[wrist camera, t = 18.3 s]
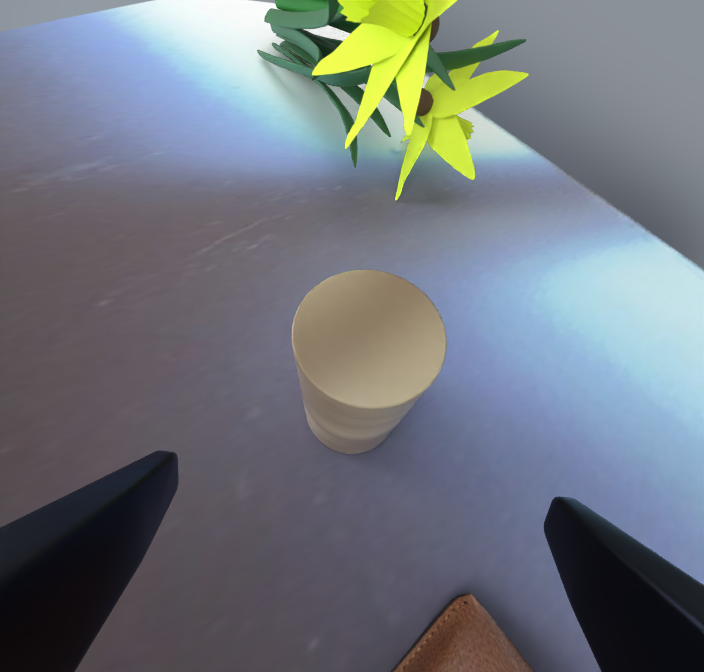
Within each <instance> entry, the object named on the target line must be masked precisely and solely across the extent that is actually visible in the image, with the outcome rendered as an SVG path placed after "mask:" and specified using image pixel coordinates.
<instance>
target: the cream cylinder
mask: <svg viewBox="0 0 704 672" xmlns="http://www.w3.org/2000/svg"><path fill="white" fill-rule="evenodd" d="M292 346H293V352H294V357H295V362H296V367H297V372H298V377H299V382H300V387H301V392H302V397H303V402H304V408H305V413H306V417H307V421H308V424H309V427H310V429H311V430H312V432H313V434H314V435H315V436H316V438H317V439H318V440H319V441H320V442H321V443H323V444H324V445H325V446H327V447H328V448H330V449H332V450H334V451H337V452H341V453H346V454H358V453H363V452H366V451H369V450H371V449H373V448H375V447H376V446H378V445H379V444H381V443H382V442H383V441H384V440H385V439H386V437H387V436H388V435H389V434H390V433H391V431H392V430H393V429H394V428H395V427H396V426H397V424H398V423H399V422H400V421H401V420H402V418H403V417H404V416H405V415H406V414H407V412H408V411H409V410H410V409H411V408H412V407H413V405H414V404H415V403H416V402H417V401H418V399H419V398H420V397H421V396H422V395H423V393H424V392H425V391H426V390H427V389H428V388H429V386H430V385H431V384H432V383H433V382H434V380H435V379H436V377H437V376H438V374H439V372H440V370H441V368H442V366H443V363H444V359H445V355H446V347H447V341H446V332H445V327H444V324H443V321H442V318H441V316H440V314H439V312H438V310H437V309H436V307H435V306H434V304H433V303H432V301H431V300H430V299H429V298H428V297H427V295H425V294H424V293H423V292H422V291H421V290H420V289H419V288H417V287H416V286H415V285H413V284H412V283H410V282H408V281H407V280H405V279H403V278H401V277H398V276H396V275H393V274H390V273H387V272H382V271H376V270H354V271H348V272H343V273H340V274H337V275H334V276H332V277H330V278H328V279H326V280H324V281H323V282H321V283H319V284H318V285H317V286H316V287H314V288H313V289H312V290H311V291H310V292H309V293H308V294H307V295H306V296H305V298H304V299H303V301H302V302H301V304H300V305H299V307H298V309H297V311H296V314H295V317H294V320H293V325H292Z"/></svg>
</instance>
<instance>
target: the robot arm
mask: <svg viewBox="0 0 704 672" xmlns="http://www.w3.org/2000/svg"><path fill="white" fill-rule="evenodd" d="M177 487H178V458H177V454H176V453H174V452H168V451H156V452H154V453H152V454H150V455H148V456H146V457H144V458H141V459H139V460H137V461H135V462H133V463H131V464H129V465H127V466H125V467H123V468H121V469H119V470H117V471H115V472H113V473H111V474H109V475H107V476H105V477H103V478H101V479H99V480H97V481H95V482H93V483H91V484H89V485H87V486H85V487H83V488H81V489H78V490H76V491H74V492H72V493H70V494H68V495H66V496H64V497H62V498H60V499H58V500H56V501H54V502H52V503H50V504H48V505H46V506H44V507H42V508H40V509H38V510H36V511H34V512H32V513H30V514H28V515H26V516H24V517H22V518H19V519H17V520H15V521H13V522H11V523H9V524H7V525H5V526H3V527H1V528H0V672H75V670H76V669H77V667H78V665H79V664H80V662H81V660H82V659H83V657H84V655H85V654H86V652H87V650H88V649H89V647H90V646H91V644H92V642H93V641H94V639H95V637H96V636H97V634H98V632H99V631H100V629H101V627H102V626H103V624H104V623H105V621H106V619H107V618H108V616H109V614H110V613H111V611H112V609H113V608H114V606H115V604H116V603H117V601H118V600H119V598H120V596H121V595H122V593H123V591H124V590H125V588H126V586H127V585H128V583H129V581H130V580H131V578H132V577H133V575H134V573H135V572H136V570H137V568H138V567H139V565H140V563H141V561H142V560H143V558H144V556H145V554H146V552H147V550H148V548H149V546H150V544H151V542H152V540H153V538H154V536H155V534H156V532H157V530H158V528H159V526H160V524H161V521H162V519H163V517H164V515H165V513H166V511H167V509H168V507H169V505H170V503H171V501H172V499H173V497H174V495H175V493H176V490H177ZM544 532H545V536H546V539H547V541H548V544H549V547H550V550H551V552H552V555H553V558H554V561H555V563H556V566H557V569H558V572H559V574H560V577H561V580H562V582H563V585H564V588H565V591H566V593H567V596H568V598H569V601H570V604H571V606H572V608H573V611H574V613H575V615H576V617H577V620H578V622H579V624H580V626H581V628H582V630H583V633H584V635H585V637H586V639H587V641H588V643H589V646H590V648H591V650H592V652H593V654H594V656H595V659H596V661H597V663H598V665H599V667H600V669H601V672H704V585H703V584H701V583H700V582H698V581H697V580H695V579H694V578H692V577H691V576H689V575H688V574H686V573H685V572H683V571H682V570H680V569H679V568H677V567H676V566H674V565H673V564H671V563H670V562H668V561H667V560H665V559H664V558H662V557H661V556H659V555H658V554H656V553H655V552H653V551H652V550H650V549H649V548H647V547H646V546H644V545H643V544H641V543H640V542H639V541H637V540H636V539H634V538H633V537H631V536H630V535H628V534H627V533H625V532H624V531H622V530H621V529H619V528H618V527H616V526H615V525H613V524H612V523H610V522H609V521H607V520H606V519H604V518H603V517H601V516H600V515H598V514H597V513H595V512H594V511H592V510H591V509H589V508H588V507H586V506H585V505H583V504H582V503H580V502H579V501H577V500H576V499H573V498H568V497H560V496H558V497H555V498H554V499H553V500H552V502H551V505H550V508H549V511H548V513H547V516H546V519H545V522H544Z"/></svg>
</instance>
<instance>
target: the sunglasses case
mask: <svg viewBox="0 0 704 672" xmlns="http://www.w3.org/2000/svg"><path fill="white" fill-rule="evenodd" d="M392 672H534V671H533V670H532V668H531V667H530V665H529V664H528V663H527V661H526V660H525V659H524V658H523V657H522V655H521V654H520V653H519V651H518V650H517V648H516V647H515V646H514V645H513V643H512V642H511V641H510V640H509V639H508V637H507V636H506V635H505V633H504V632H503V630H502V629H501V628H500V627H499V625H498V624H497V623H496V622H495V620H494V619H493V618H492V617H491V615H490V614H489V613H488V611H487V610H486V609H485V608H484V607H483V606H482V605H481V603H480V602H479V601H478V600H477V599H476V598H475V597H474V595H473V594H471V593H468V594H463V595H460V596H457V597H456V598H454V599H452V601H451V602H450V603H449V604H448V605H447V606H446V607H445V609H444V610H443V611H442V612H441V613H440V614H439V615H438V616H437V617H436V619H435V620H434V621H433V622H432V623H431V624H430V625H429V626H428V627H427V629H426V630H425V631H424V632H423V634H422V635H421V636H420V638H419V639H418V640H417V641H416V643H415V644H414V645H413V646H412V647H411V648H410V650H409V651H408V652H407V653H406V655H405V656H404V657H403V658H402V660H401V661H400V662H399V663H398V664H397V666H396V667H395V668H394V669H393V670H392Z"/></svg>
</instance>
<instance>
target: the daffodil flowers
mask: <svg viewBox="0 0 704 672" xmlns="http://www.w3.org/2000/svg"><path fill="white" fill-rule="evenodd" d="M456 1H457V0H275V4H276V7H277V8H278V9H280V10H277V9H272V8H271V9H269V11H268V12H267V14H266V16H265V20H264V21H265V22H267V23H270V24H271V28H272V31H273V32H274V33H276V36H277V37H280V38H282V39H284V40H285V41H283V42H282V43H281V44H280V46H281V47H280V46H279V45H277V44H275V43H272V46H273V47H274V48H275V49H276V50H277V51H278V52H280V53H282V54H283V55H285V56H287V57H288V58H290V59H292V60H293V61H294V62H296V63H294V62H291V61H288V60H285V59H281V58H278V57H275V56H272V55H270V54H267V53H265V52H263V51H260V50H257V51H258V53H259V55H260V56H261V57H262V58H263V59H265V60H267V61H269V62H271V63H274V64H276V65H278V66H280V67H283V68H286V69H289V70H292V71H294V72H297V73H300V74H303V75H305V76H308V77H311V78H312V80H315V81H316V82H317V83H318V85H319V86H320V87H321V88H322V89H323V90H324V91H325V92H326V94H327V95H328V96H329V98H330V99H331V101H332V102H333V103H334V105H335V106H336V107H337V109H338V111H339V112H340V114H341V117H342V120H343V122H344V125H345V128H346V133H347V139H346V142H345V149H346V148H347V147H348V146H350V151H351V156H352V160H353V163H354V166H355V167H356V162H357V134H358V132H359V131H360V130H361V128H362V127H363V126H364V124H365V123H366V121H367V120H368V118H369V117H371V118H372V119H373V121H374V122H375V123H376V124H377V125H378V126H379V127H380V128H381V129H382V131H383V132H384V133H385V134H386V135H388V136H389V137H391V135H390V133H389V130H388V128H387V126H386V123H385V121H384V119H383V117H382V116H381V114H380V112H379V110H378V108H377V105H378V104H379V102H380V101H381V99H382V97H384V98H386V99H387V100H388V101H389V102H390V103H392V104H393V105H394V106H395V107H396V108H398V109H399V110H400V111H401V112H402V113H403V116H404V120H405V121H404V130H405V132H406V135H405V136H404V138H403V139H402V140H401V143H402V141H405V140H407V139H410V140H409V144H408V147H407V151H406V154H405V158H404V161H403V165H402V169H401V174H400V178H399V183H398V188H397V193H396V198H395V201H396V200H397V199H398V198H399V196H400V194H401V192H402V188H403V185H404V182H405V180H406V178H407V176H408V174H409V173H410V171H411V169H412V167H413V165H414V164H415V162H416V160H417V158H418V157H419V155H420V153H421V151H422V149H423V148H424V146H425V143H426V141H427V142H428V144H429V145H430V147H431V148H432V149H433V150H434V151H436V152H437V153H438V154H439V155H440V156H441V157H442V158H443V159H444V160H445V161H446V162H447V163H449V164H450V165H451V166H452V167H453V168H455V169H456V170H457V171H459V172H460V173H462V174H463V175H465V176H466V177H468V178H469V179H471V180H474V179H475V169H474V164H473V161H472V158H471V155H470V151H469V147H468V143H467V139H471V136H470V133H473V132H474V131H473V130H472V127H474V126H473V125H472V124H471V122H469V121H467V120H465V119H462V118H460V117H459V116H457V115H456V114H459V113H461V112H463V111H465V110H467V109H469V108H471V107H473V106H475V105H477V104H479V103H481V102H483V101H485V100H487V99H489V98H491V97H493V96H495V95H497V94H498V93H500V92H502V91H504V90H506V89H508V88H509V87H511V86H513V85H514V84H516V83H518V82H519V81H521V80H522V79H524V78H525V77H527V76H528V75H529V74H528V73H524V72H515V71H506V70H503V71H495V72H489V73H485V74H482V75H480V76H477V77H475V78H472V79H470V80H469V78H470V77H471V75H472V74H473V72H474V71H475V69H476V68H477V66H478V65H479V63H480V62H481V61H484V60H487V59H490V58H492V57H494V56H496V55H498V54H501V53H503V52H505V51H508V50H510V49H512V48H514V47H516V46H518V45H520V44H522V43H524V42H525V41H526V39H519V40H510V41H506V42H501V43H496V44H492V43H493V41H494V39H495V38H496V36H497V34H498V32H499V30H498V31H496V32H495V33H493V34H491V35H490V36H489V37H487V38H486V39H484V40H482V41H480V42H478V43H476V44H475V45H474V46H473V47H472V48H470V49H465V50H460V51H453V52H442V53H436V52H435V51H434V50H433V48H432V47H431V45H430V44H429V43H430V42H431V41H432V40H433V39H434V38H435V36H436V34H437V32H438V29H439V15H441V14H442V13H443V12H444V11H445V10H446V9H448V8H449V7H450V6H451V5H452V4H454V3H455V2H456ZM327 25H329V26H332V27H335V28H337V29H340V30H343V31H345V32H348V33H351V34H350V35H349V36H348V37H347V38H346V39H345V40H344V41H341V40H335V39H330V38H325V37H322V36H318V35H314V34H312V33H310V32H308V31H306V30H303V29H315V28H320V27H325V26H327ZM282 47H283V48H282ZM284 48H285V49H284ZM286 49H287V50H289V51H291V52H293V53H295V54H296V55H298V56H299V57H301V58H302V59H304V60H305V61H307V62H308V63H310V64H311V65H313V66H314V67H315V68H314V69H313V68H310V67H309V66H307V65H306V64H305V63H304V62H302V61H301V60H300V59H299V58H297V57H296V56H295V55H294V54H292V53H291V52H289V51H287V50H286ZM371 64H373V66H371ZM447 70H451V71H450V73H449V74H448V73H447ZM430 72H434V73H435V74H434V75H433V76H431V77H430V78H429V80H428V82H427V84H426V86H425V88H422V85H423V80H424V75H425V73H430ZM325 83H326V84H329V85H332V86H338V87H341V88H342V89H343V90H344V91H345V92H346V93H347V94H348V95H350V96H351V97H352V98H353V99H354V100H355V101H356V102H357V103H358V104H359V105H360V108H359V111H358V114H357V118H356V121H355V123H354V122H353V119H352V117H351V115H350V113H349V112H348V110H347V109H346V108H345V106H344V105H343V104H342V102H341V101H340V100H339V98H338V97H337V96H336V95H335V93H334V92H333V91H332V90H331V89H330V88H329V87H328V86H327V85H326V84H325ZM363 83H365V84H367V85H366V89H365V92H364V91H363V90H362V89H361V88H360V87H359V86H357V85H359V84H363Z"/></svg>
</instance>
